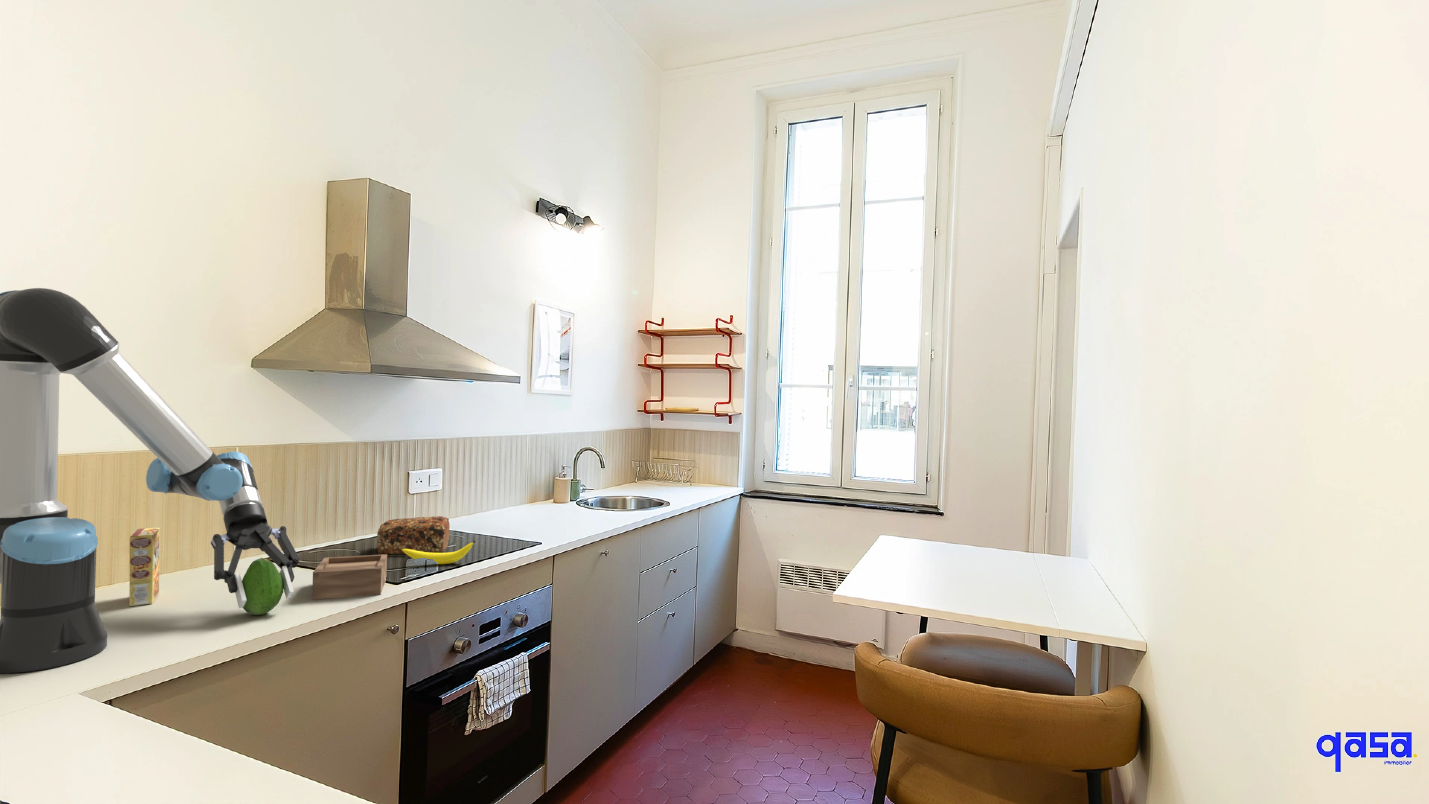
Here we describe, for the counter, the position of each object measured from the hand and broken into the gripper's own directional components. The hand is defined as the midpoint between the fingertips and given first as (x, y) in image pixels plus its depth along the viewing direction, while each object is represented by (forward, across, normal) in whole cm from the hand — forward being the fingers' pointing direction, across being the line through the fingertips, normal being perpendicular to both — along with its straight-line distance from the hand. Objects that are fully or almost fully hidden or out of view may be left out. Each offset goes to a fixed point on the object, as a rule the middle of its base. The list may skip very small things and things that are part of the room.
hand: (267, 599), depth 137 cm
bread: (-22, -49, -28) cm, 61 cm away
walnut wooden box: (-4, -20, -9) cm, 23 cm away
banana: (-8, -46, -14) cm, 48 cm away
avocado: (+1, 0, -5) cm, 5 cm away
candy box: (-19, +14, -25) cm, 34 cm away
